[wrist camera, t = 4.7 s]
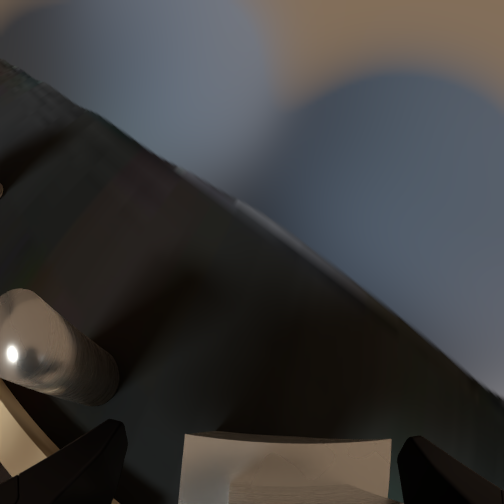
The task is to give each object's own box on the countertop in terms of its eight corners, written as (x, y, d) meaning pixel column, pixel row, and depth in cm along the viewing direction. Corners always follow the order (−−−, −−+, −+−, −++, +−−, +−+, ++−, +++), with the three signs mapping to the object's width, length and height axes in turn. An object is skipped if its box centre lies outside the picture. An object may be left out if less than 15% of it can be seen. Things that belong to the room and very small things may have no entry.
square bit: (287, 504, 11) (418, 634, 1) (209, 499, 11) (150, 652, 1) (293, 436, 13) (457, 434, 3) (215, 430, 13) (158, 436, 3)
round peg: (131, 372, 14) (67, 327, 8) (95, 419, 13) (12, 400, 7) (89, 334, 15) (18, 272, 9) (55, 378, 13) (-30, 335, 8)
